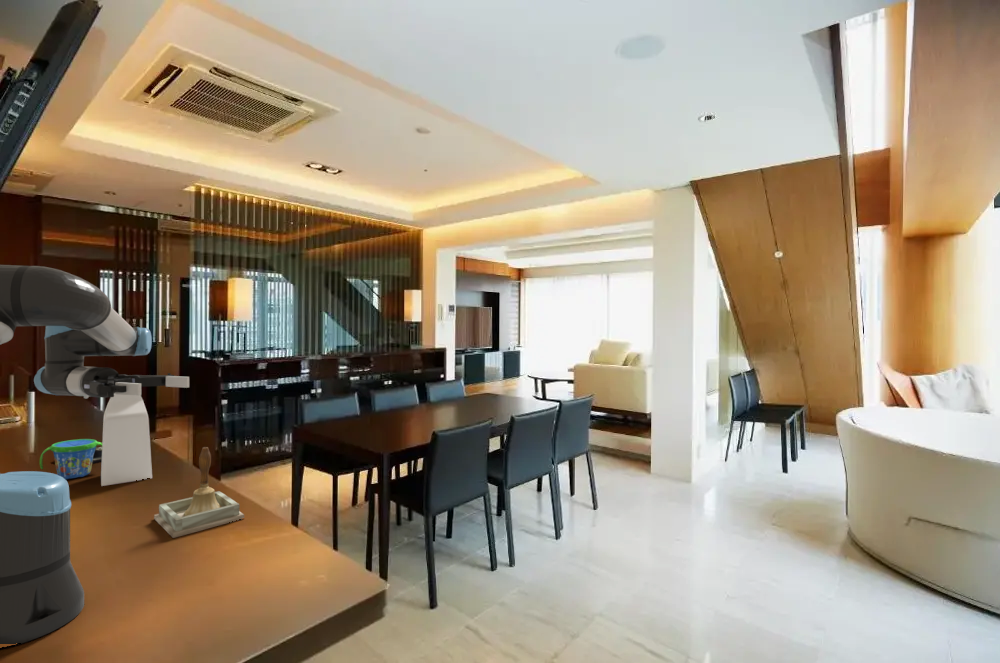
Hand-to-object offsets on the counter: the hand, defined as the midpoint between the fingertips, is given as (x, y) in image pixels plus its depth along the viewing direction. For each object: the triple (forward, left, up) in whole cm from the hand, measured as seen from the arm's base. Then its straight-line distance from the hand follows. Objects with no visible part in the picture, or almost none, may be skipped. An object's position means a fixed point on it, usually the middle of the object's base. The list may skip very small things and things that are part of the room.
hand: (165, 385), depth 122 cm
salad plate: (+62, +40, -33) cm, 81 cm away
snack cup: (+41, +36, -32) cm, 63 cm away
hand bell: (-3, -9, -31) cm, 33 cm away
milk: (+36, +21, -32) cm, 53 cm away
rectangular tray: (-5, -8, -32) cm, 33 cm away
